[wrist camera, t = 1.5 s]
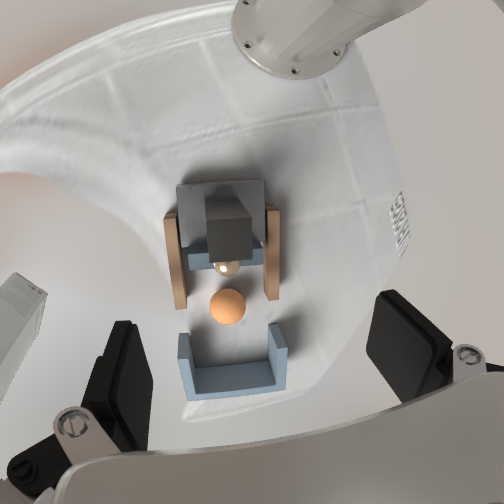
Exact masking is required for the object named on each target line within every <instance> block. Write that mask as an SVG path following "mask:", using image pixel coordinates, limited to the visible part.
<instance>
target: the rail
mask: <svg viewBox="0 0 504 504" xmlns="http://www.w3.org/2000/svg"><path fill="white" fill-rule="evenodd" d="M163 221H164V230H165V239H166V247H167V254H168V262H169V269H170V276H171V283H172V289H173V296H174V302H175V308H176V309H187V293H186V286H185V278H184V270H183V262H182V253H181V244H180V235H179V225H178V215H177V213H167V214H166V215H165V217H164V219H163ZM263 254H264V292H265V294H266V296H267V298H268V301H271V300H279V265H280V211H279V210H278V209H277V208H276V207H275V206H265V241H263Z"/></svg>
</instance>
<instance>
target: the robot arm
mask: <svg viewBox="0 0 504 504" xmlns="http://www.w3.org/2000/svg"><path fill="white" fill-rule="evenodd" d="M426 1H427V0H239V1H238V3H237V4H236V7H235V9H234V12H233V16H232V32H233V36H234V40H235V42H236V44H237V46H238V48H239V49H240V50H241V52H242V53H243V54H244V56H245V57H246V58H247V59H248V60H249V61H251V62H252V63H253V64H254V65H255V66H257V67H259V68H260V69H262V70H263V71H265V72H268V73H270V74H272V75H275V76H278V77H282V78H287V79H296V80H297V79H308V78H312V77H317V76H319V75H321V74H323V73H325V72H327V71H329V70H330V69H332V68H333V67H334V66H335V65H336V64H337V63H338V62H339V61H340V60H341V58H342V57H343V55H344V52H345V49H346V46H347V43H349V42H351V41H353V40H355V39H356V38H358V37H360V36H362V35H364V34H366V33H367V32H370V31H372V30H373V29H376V28H378V27H380V26H382V25H384V24H386V23H388V22H390V21H392V20H394V19H396V18H398V17H400V16H402V15H404V14H406V13H409V12H411V11H413V10H414V9H416V8H418V7H420V6H421V5H423V4H424V3H425V2H426ZM493 1H494V2H495V3H496V5H497V6H498V7H499V8H500V9H501V10H502V12H503V13H504V0H493ZM244 3H247V4H248V5H246V4H244ZM245 45H248V46H249V48H246V47H245ZM334 53H335V55H334ZM292 70H293V71H295V74H293V73H292ZM452 343H453V342H452V341H451V340H450V339H449V338H448V337H447V336H446V335H445V334H444V333H443V332H441V331H440V330H439V329H438V328H437V327H436V326H435V325H434V324H433V323H432V322H431V321H430V320H428V319H427V318H426V317H425V316H424V315H423V314H422V313H420V312H419V311H418V310H417V309H416V308H415V307H414V306H413V305H412V304H411V303H409V302H408V301H407V300H406V299H405V298H404V297H402V296H401V295H400V294H399V293H398V292H397V291H396V290H394V289H392V290H387V291H382V292H380V294H379V295H378V296H377V297H376V301H375V307H374V312H373V317H372V323H371V327H370V332H369V336H368V341H367V345H366V352H367V355H368V356H369V358H370V359H371V360H372V362H373V363H374V365H375V366H376V367H377V369H378V370H379V371H380V373H381V374H382V375H383V377H384V378H385V380H386V381H387V383H388V384H389V385H390V387H391V388H392V389H393V391H394V392H395V394H396V395H397V397H398V398H399V399H400V401H401V402H402V404H400V405H397V406H394V407H392V408H389V409H386V410H383V411H380V412H378V413H374V414H371V415H368V416H365V417H362V418H358V419H355V420H352V421H348V422H345V423H341V424H338V425H334V426H330V427H326V428H322V429H318V430H314V431H310V432H305V433H301V434H296V435H291V436H286V437H280V438H275V439H269V440H263V441H257V442H250V443H244V444H235V445H227V446H217V447H207V448H193V449H179V450H178V449H177V450H154V451H147V445H148V433H149V421H150V410H151V399H152V391H153V378H152V375H151V371H150V368H149V365H148V362H147V359H146V355H145V352H144V348H143V345H142V341H141V338H140V334H139V331H138V327H137V325H136V324H132V323H131V321H130V320H128V321H127V320H126V321H116V322H115V323H114V326H113V329H112V331H111V334H110V337H109V339H108V342H107V345H106V348H105V350H104V353H103V356H99V357H98V358H97V359H96V362H95V364H94V368H93V370H92V373H91V376H90V379H89V382H88V385H87V388H86V391H85V394H84V397H83V400H82V404H81V406H80V407H78V406H75V407H69V408H66V409H64V410H63V411H61V412H60V413H59V414H58V415H57V416H56V418H55V420H54V423H53V429H54V434H52V435H51V436H49V437H47V438H46V439H44V440H42V441H41V442H39V443H37V444H35V445H34V446H32V447H30V448H28V449H27V450H25V451H23V452H21V453H20V454H18V455H16V456H15V457H14V458H12V459H11V461H10V462H9V464H8V467H7V476H8V478H7V479H6V480H5V481H4V480H3V479H0V504H504V366H499V365H494V364H490V363H486V362H485V357H484V354H483V353H482V352H481V351H480V350H479V349H478V348H476V347H474V346H472V345H469V344H462V345H458V346H456V347H455V349H454V350H452V349H451V346H452Z"/></svg>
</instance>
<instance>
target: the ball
mask: <svg viewBox="0 0 504 504" xmlns="http://www.w3.org/2000/svg"><path fill="white" fill-rule="evenodd" d="M245 309H246V304H245V300H244V298H243V296H242V295H241V294H240V293H239V292H237V291H236V290H233V289H222V290H220V291H218V292H216V293H215V294H214V295H213V297H212V298H211V301H210V312H211V314H212V316H213V318H214V319H215V320H216V321H218V322H220V323H222V324H234V323H236V322H238V321H239V320H240V319H241V318H242V317H243V315H244V313H245Z"/></svg>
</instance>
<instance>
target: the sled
mask: <svg viewBox="0 0 504 504" xmlns="http://www.w3.org/2000/svg"><path fill="white" fill-rule="evenodd" d="M176 194H177V206H178V217H179V228H180V238H181V247H188V262H189V271H191V270H203V269H214V268H215V270H216V271H217V273H219V274H220V275H222V276H226V277H228V276H232V275H234V274H236V273H237V272H238V270H239V268H240V266H248V265H259V264H263V247H262V245H261V244H260V242H259V241H265V191H264V181H263V180H261V179H249V180H230V181H215V182H201V183H188V184H177V186H176Z"/></svg>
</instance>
